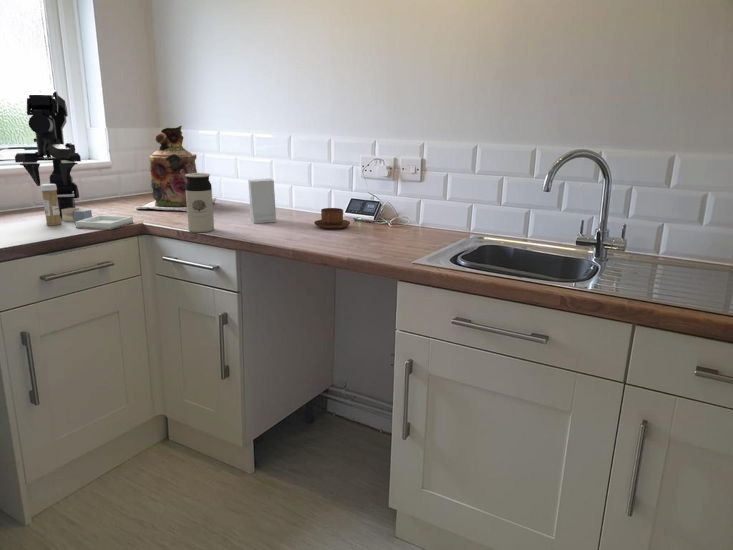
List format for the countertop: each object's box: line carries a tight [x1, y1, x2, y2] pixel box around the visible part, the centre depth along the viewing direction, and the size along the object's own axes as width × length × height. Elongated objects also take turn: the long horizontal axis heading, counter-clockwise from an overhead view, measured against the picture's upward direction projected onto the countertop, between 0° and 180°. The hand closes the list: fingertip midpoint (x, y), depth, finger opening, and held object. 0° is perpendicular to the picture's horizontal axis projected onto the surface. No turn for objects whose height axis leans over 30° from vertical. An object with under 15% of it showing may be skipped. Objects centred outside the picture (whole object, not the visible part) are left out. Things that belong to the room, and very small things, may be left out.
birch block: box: [61, 207, 80, 222], centre depth 198 cm, size 4×4×4 cm
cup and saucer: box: [313, 207, 351, 230], centre depth 190 cm, size 12×12×6 cm
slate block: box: [73, 208, 93, 223], centre depth 195 cm, size 4×4×4 cm
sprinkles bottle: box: [40, 183, 62, 226], centre depth 188 cm, size 5×5×14 cm
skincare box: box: [247, 177, 277, 225], centre depth 197 cm, size 8×6×15 cm
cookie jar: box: [134, 124, 217, 212], centre depth 225 cm, size 25×25×32 cm
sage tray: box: [74, 214, 134, 230], centre depth 190 cm, size 13×13×2 cm
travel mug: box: [185, 172, 215, 233], centre depth 181 cm, size 8×8×18 cm
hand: (52, 185), depth 181 cm, fingers open, 9 cm apart
